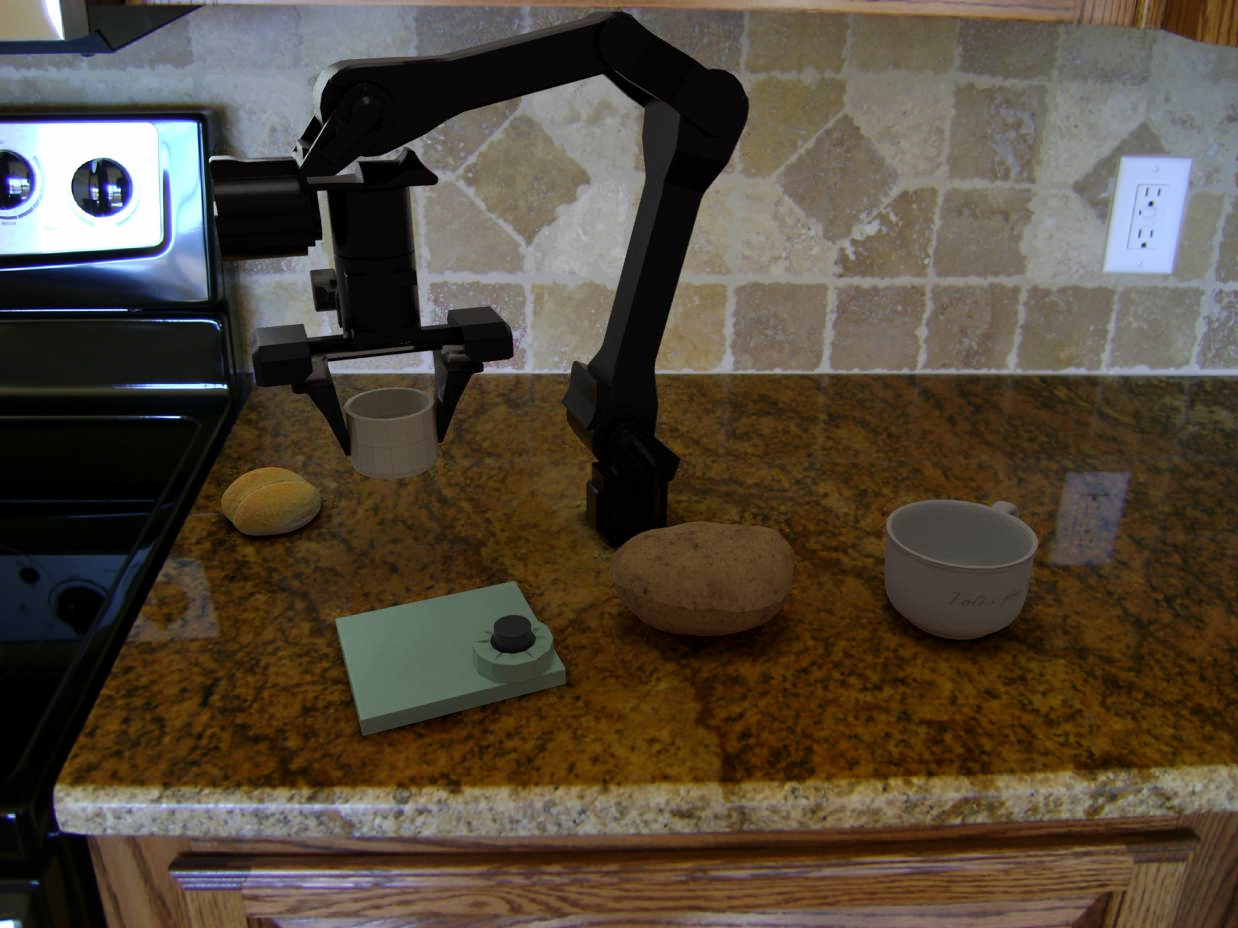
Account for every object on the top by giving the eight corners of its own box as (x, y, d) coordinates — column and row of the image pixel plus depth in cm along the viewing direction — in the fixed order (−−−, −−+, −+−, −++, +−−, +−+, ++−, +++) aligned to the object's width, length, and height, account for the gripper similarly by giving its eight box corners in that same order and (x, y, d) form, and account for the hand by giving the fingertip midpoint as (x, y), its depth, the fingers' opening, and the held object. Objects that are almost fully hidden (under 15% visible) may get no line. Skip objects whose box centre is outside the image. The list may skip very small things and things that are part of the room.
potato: (605, 590, 76) (606, 504, 73) (775, 586, 77) (784, 501, 73) (611, 665, 67) (612, 571, 64) (803, 660, 68) (814, 567, 65)
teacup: (953, 676, 67) (973, 581, 63) (844, 602, 75) (857, 515, 71) (1072, 617, 73) (1096, 529, 70) (960, 555, 82) (977, 473, 78)
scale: (515, 595, 75) (514, 563, 74) (567, 686, 65) (566, 651, 64) (337, 633, 70) (332, 600, 69) (363, 739, 60) (358, 702, 59)
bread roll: (250, 549, 81) (243, 509, 79) (214, 511, 87) (206, 472, 85) (339, 519, 86) (334, 481, 84) (299, 485, 92) (293, 448, 90)
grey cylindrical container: (429, 438, 78) (425, 383, 76) (446, 472, 73) (442, 413, 71) (346, 450, 76) (339, 393, 74) (357, 486, 70) (350, 425, 68)
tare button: (525, 629, 67) (524, 611, 66) (536, 649, 65) (536, 631, 64) (490, 637, 66) (489, 619, 65) (500, 658, 64) (499, 639, 63)
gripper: (475, 221, 77) (485, 397, 84) (233, 236, 71) (265, 425, 78) (511, 250, 68) (519, 446, 74) (237, 271, 61) (272, 482, 68)
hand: (394, 447), depth 74 cm, fingers closed on grey cylindrical container, 7 cm apart
